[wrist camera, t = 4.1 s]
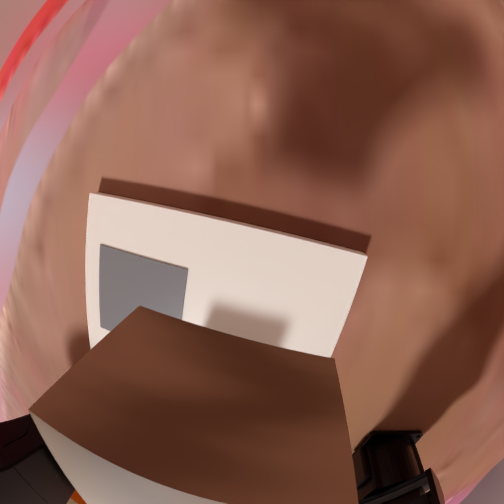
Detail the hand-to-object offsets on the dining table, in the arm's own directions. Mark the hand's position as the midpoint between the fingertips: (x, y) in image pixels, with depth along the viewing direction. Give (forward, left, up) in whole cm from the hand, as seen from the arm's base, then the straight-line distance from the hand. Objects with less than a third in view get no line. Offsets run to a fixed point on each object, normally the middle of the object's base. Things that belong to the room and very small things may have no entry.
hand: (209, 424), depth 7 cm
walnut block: (0, 0, -1) cm, 1 cm away
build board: (+3, +4, -11) cm, 12 cm away
